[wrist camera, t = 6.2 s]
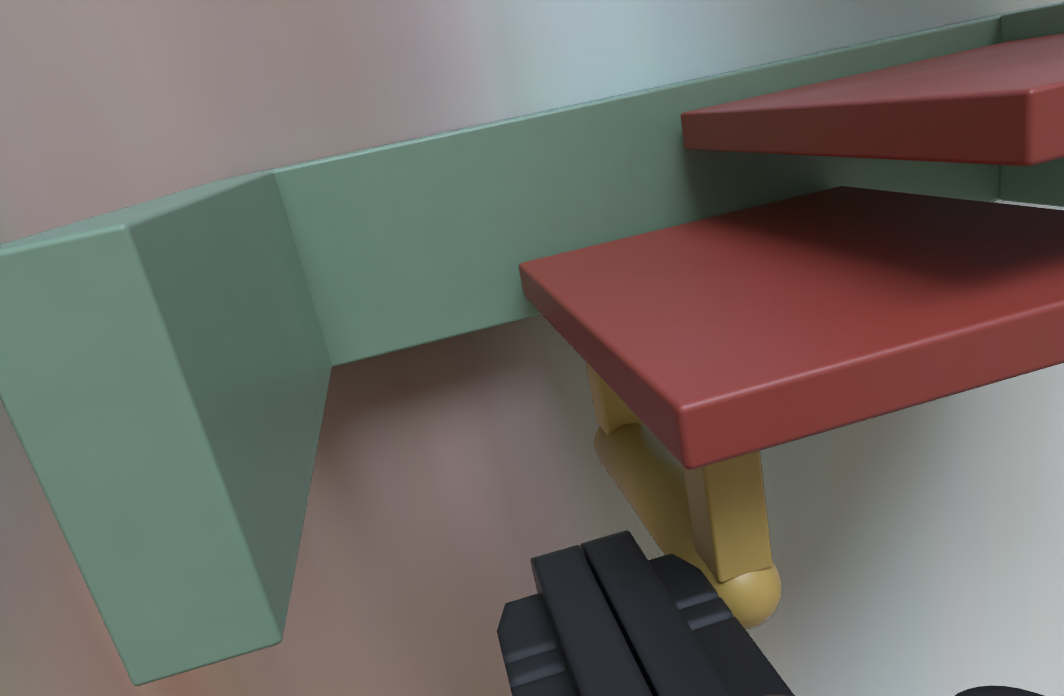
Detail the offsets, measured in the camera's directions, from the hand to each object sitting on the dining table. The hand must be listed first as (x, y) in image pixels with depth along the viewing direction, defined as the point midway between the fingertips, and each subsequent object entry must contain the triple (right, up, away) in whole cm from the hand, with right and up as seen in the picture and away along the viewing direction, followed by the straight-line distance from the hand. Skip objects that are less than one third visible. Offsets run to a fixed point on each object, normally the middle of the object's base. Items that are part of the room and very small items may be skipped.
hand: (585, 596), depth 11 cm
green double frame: (+2, +8, +7) cm, 11 cm away
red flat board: (+3, +5, +7) cm, 9 cm away
